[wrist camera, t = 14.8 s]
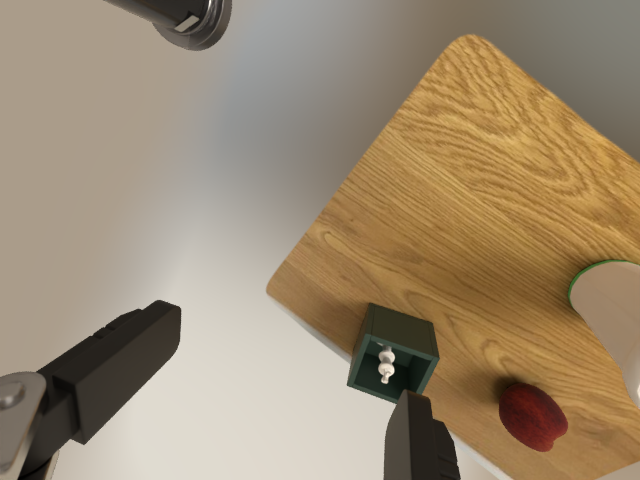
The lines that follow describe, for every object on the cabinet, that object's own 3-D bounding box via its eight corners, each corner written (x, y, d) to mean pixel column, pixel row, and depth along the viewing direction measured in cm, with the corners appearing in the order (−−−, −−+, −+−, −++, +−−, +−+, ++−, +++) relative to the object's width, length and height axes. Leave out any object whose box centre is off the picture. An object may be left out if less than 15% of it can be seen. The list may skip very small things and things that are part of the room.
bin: (353, 350, 49) (346, 385, 42) (369, 302, 45) (365, 333, 38) (411, 370, 47) (413, 410, 40) (432, 323, 44) (440, 358, 37)
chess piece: (410, 327, 44) (414, 378, 35) (394, 350, 46) (394, 403, 37) (380, 312, 44) (376, 359, 35) (366, 335, 46) (358, 385, 37)
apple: (520, 419, 46) (544, 474, 38) (478, 391, 46) (494, 440, 38) (560, 393, 43) (595, 447, 35) (515, 362, 43) (540, 410, 35)
